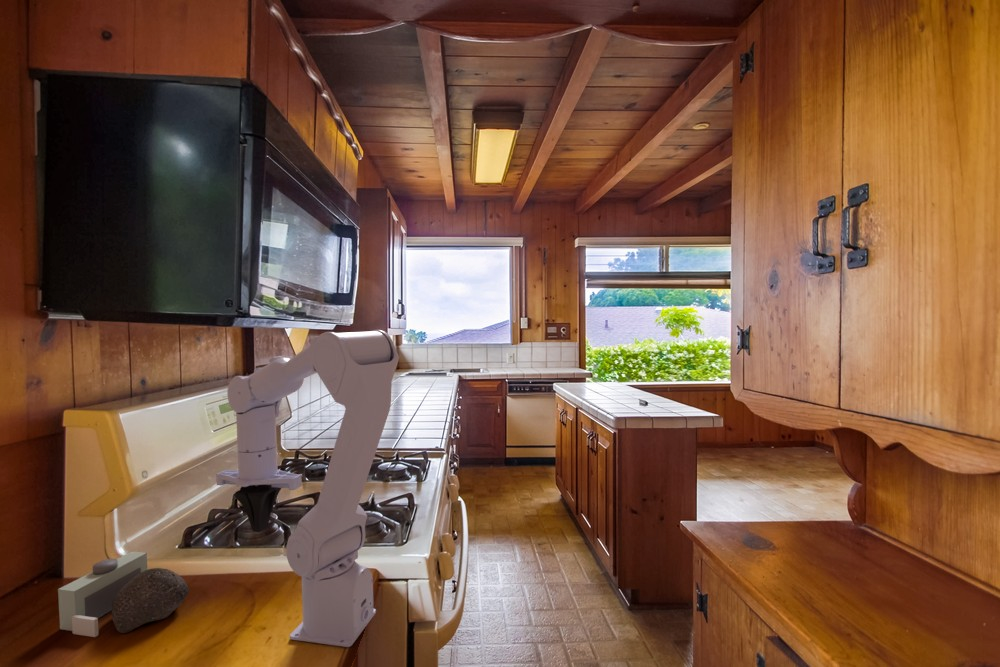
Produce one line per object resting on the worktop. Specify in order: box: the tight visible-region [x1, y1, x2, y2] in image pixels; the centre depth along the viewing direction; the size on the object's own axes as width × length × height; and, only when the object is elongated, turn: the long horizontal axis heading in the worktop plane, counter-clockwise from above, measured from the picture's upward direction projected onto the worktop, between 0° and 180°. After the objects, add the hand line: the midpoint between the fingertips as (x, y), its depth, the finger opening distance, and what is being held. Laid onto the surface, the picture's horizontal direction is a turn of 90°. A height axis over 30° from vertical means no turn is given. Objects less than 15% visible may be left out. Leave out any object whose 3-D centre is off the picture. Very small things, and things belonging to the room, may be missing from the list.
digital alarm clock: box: [57, 551, 148, 638], centre depth 74 cm, size 7×12×7 cm, turn 168°
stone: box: [111, 567, 190, 634], centre depth 72 cm, size 10×8×10 cm
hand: (260, 529), depth 77 cm, fingers closed
